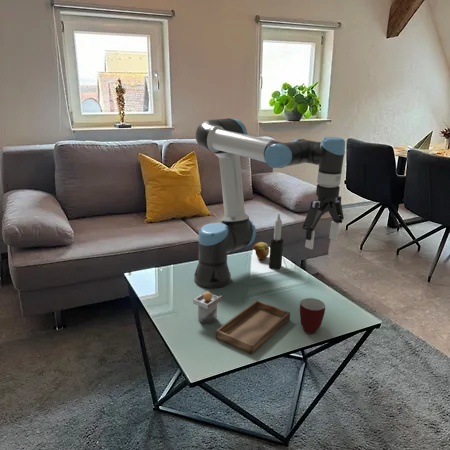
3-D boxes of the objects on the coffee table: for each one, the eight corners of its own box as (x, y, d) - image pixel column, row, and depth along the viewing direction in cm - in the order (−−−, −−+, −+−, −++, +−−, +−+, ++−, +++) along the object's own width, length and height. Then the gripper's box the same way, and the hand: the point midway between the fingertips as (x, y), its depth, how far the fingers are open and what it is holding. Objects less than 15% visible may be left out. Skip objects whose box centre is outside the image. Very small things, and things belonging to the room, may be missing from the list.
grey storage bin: (192, 321, 142) (192, 299, 140) (207, 311, 149) (207, 290, 146) (207, 327, 139) (207, 305, 136) (221, 317, 145) (222, 295, 142)
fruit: (258, 263, 190) (258, 246, 187) (249, 256, 197) (250, 240, 194) (272, 260, 193) (273, 244, 190) (263, 254, 200) (264, 238, 197)
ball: (201, 300, 141) (201, 292, 140) (206, 297, 143) (207, 289, 142) (208, 303, 139) (208, 295, 138) (213, 299, 142) (214, 292, 141)
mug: (302, 318, 146) (305, 292, 143) (325, 323, 143) (328, 298, 140) (295, 333, 137) (297, 307, 134) (319, 339, 134) (322, 312, 131)
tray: (215, 338, 133) (216, 330, 132) (256, 307, 152) (256, 300, 151) (251, 354, 126) (252, 346, 125) (289, 320, 145) (290, 312, 144)
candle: (281, 265, 188) (285, 212, 180) (279, 270, 183) (283, 216, 175) (270, 263, 189) (274, 211, 181) (268, 268, 185) (271, 214, 177)
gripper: (314, 192, 128) (307, 255, 135) (359, 182, 143) (350, 239, 151) (295, 187, 133) (289, 248, 140) (340, 177, 149) (333, 233, 156)
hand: (321, 243), depth 146 cm, fingers open, 13 cm apart
